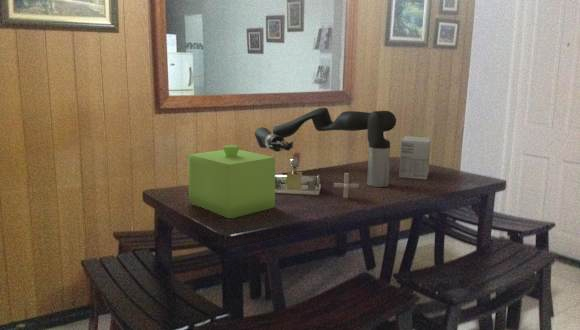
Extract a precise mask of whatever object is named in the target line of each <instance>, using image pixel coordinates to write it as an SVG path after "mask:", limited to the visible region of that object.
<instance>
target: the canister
mask: <svg viewBox="0 0 580 330" xmlns="http://www.w3.org/2000/svg"><path fill="white" fill-rule="evenodd" d="M187 157H188V158H187V159H188V161H187V163H188V165H187V166H188V167H187V168H188V201H189V202H188V203H191V204H194V205H196V206H199V207H202V208H204V209H207V210H210V211H212V212H214V213H213V214H215V213H217V214H216V215H218V214H219V215H218V216H220V215H221V216H220V217H223V216H224V217H223V218H225V219H228V218H229V220H231V219H230V218H232V219H235V218H238V217H243V216H246V215H251V214H254V213H258V212H262V211H266V210H269V209H270V210H271V209H274V208H275V207H276V201H275V200H276V193H275V174H276V158H275V157H274V156H270V155H266V154H261V153H258V152H257V153H256V152H252V151H247V150H242V149H240V146H239V145H236V144H235V145H234V144H227V145H223V146H222V149H220V150H219V149H218V150H214V151H213V150H212V151H207V152H206V151H205V152H196V153H189V154H188V155H187ZM191 204H190V205H191ZM196 206H195V207H196ZM199 207H198V208H199ZM204 209H203V210H204ZM207 210H206V211H207ZM212 212H211V213H212Z"/></svg>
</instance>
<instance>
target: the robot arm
mask: <svg viewBox="0 0 580 330" xmlns="http://www.w3.org/2000/svg"><path fill="white" fill-rule="evenodd" d="M309 120H312V123H313V125H314V128H315V130H316V131H317V132H330V131H345V132H346V131H348V132H350V131H351V132H355V131H356V132H357V131H364V130H365V131H367V140H368V156H367V157H368V160H367V176H366V177H367V178H366V181H367V182H366V184H367V185H368V186H370V187H375V188H384V187H389V181H390V152H391V141H390V140H389V139H386V138H385V135H384V134H385V133H384V132H389V131H392V130H393V129H394V128H395V126H396V124H397V118H396V115H394V113H393V112H391V111H389V110H375V111H372V112H367V111H366V112H365V111H356V110H355V111H354V110H346V111H342V112H341V113H340V114H339V115H337V117H336V118H335V120H332V117H331V114H330V111H329V109H328V108H327V107H319V108H316V109H313V110H311V111H309V112H307V113H305V114H303V115H300V116H299V117H297V118H295V119H293V120H290V121H288V122H285V123H282V124H279V125H276V126H273V128H272V132H271V131H270V130H269V129H268V128H266V127H258V128H257V129H256V130H255V131H254V136H255V139H256V141H257V144H258V146H259V148H261V149H266V148H268V149H269V150H272V151H273V152H280V151H283V150H284V151H290V150H291V149H293V148H294V141H290V142H288V141H285V138H288V137H291V136H293V135H294V134H296V133H297V131H298V130H299V129H300V128H301V127H302V126H303V124H305V123H306V122H308V121H309Z"/></svg>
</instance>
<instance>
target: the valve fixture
mask: <svg viewBox="0 0 580 330" xmlns="http://www.w3.org/2000/svg"><path fill="white" fill-rule="evenodd" d="M297 169H298V167H292V169H291V170H292V171H290V170H289V171H287V173H286V174H276V173H275V194H290V195H291V194H292V195H294V194H295V195H311V196H315V195H316V196H319V195H320V192H321V189H322V188H321V187H322V184H320V174H317V175H303V171H297Z"/></svg>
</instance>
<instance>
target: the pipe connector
mask: <svg viewBox="0 0 580 330" xmlns="http://www.w3.org/2000/svg"><path fill="white" fill-rule="evenodd" d="M349 177H350V173H349V172H344V177H343V183H342V182H334V183H333V188H341V189H342V188H343V198H344V199H348V198H349V189H359V185H360V183H349V180H350V179H349Z"/></svg>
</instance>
